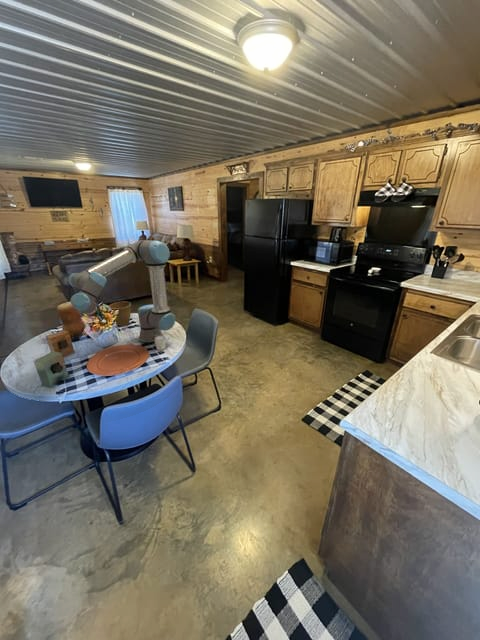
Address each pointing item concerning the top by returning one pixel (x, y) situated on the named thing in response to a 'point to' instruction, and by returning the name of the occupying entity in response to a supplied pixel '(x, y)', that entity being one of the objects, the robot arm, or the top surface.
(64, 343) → the back button
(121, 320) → the plant pot
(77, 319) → the butternut squash
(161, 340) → the shot glass
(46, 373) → the front housing
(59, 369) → the front button
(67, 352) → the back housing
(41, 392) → the top surface
